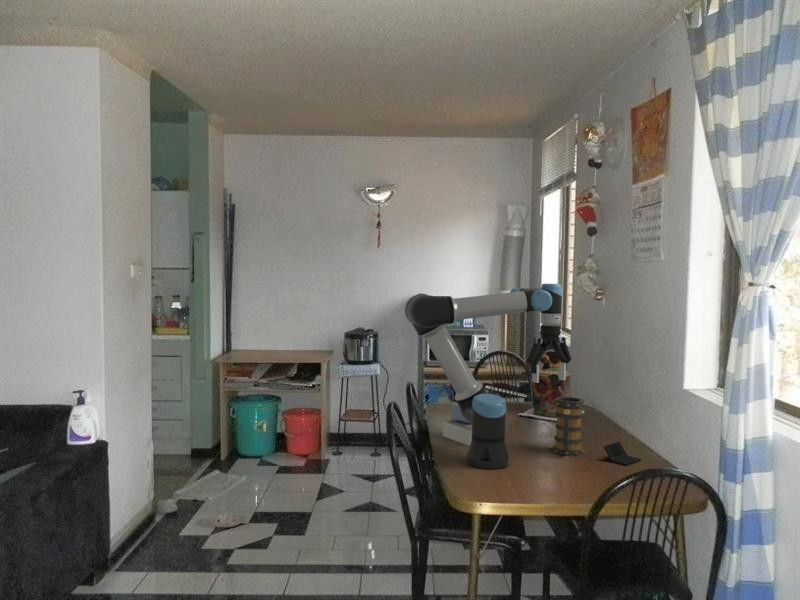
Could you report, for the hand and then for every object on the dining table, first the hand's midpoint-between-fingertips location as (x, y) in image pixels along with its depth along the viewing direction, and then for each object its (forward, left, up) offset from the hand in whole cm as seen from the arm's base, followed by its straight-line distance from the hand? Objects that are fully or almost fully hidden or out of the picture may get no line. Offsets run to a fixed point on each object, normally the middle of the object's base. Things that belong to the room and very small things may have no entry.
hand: (548, 381), depth 248 cm
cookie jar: (+47, +46, -27) cm, 71 cm away
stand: (-15, +28, -27) cm, 41 cm away
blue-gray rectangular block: (-15, +28, -19) cm, 37 cm away
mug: (+5, -6, -27) cm, 28 cm away
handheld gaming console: (+16, -22, -27) cm, 38 cm away
